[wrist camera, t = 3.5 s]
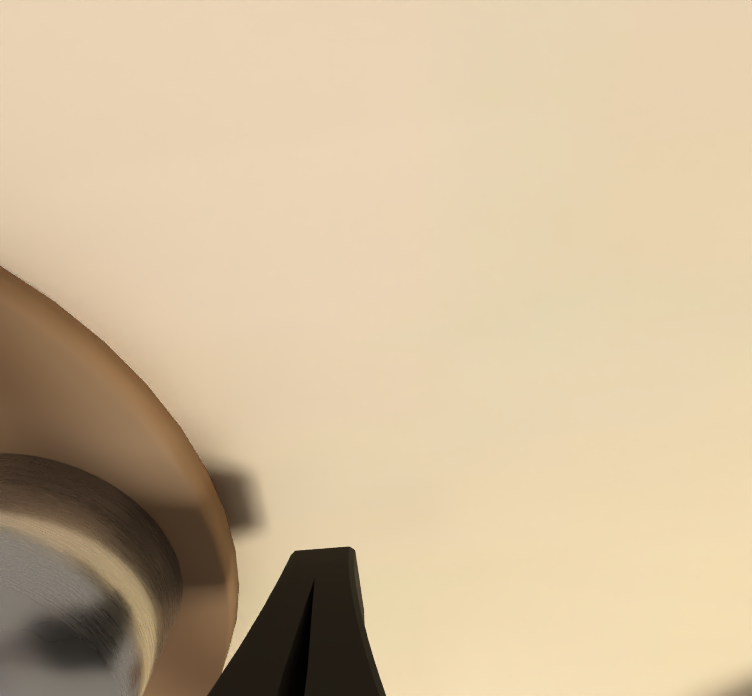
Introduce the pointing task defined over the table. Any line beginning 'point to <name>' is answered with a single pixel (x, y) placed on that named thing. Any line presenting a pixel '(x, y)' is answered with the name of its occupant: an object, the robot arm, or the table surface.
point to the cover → (79, 584)
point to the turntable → (121, 465)
